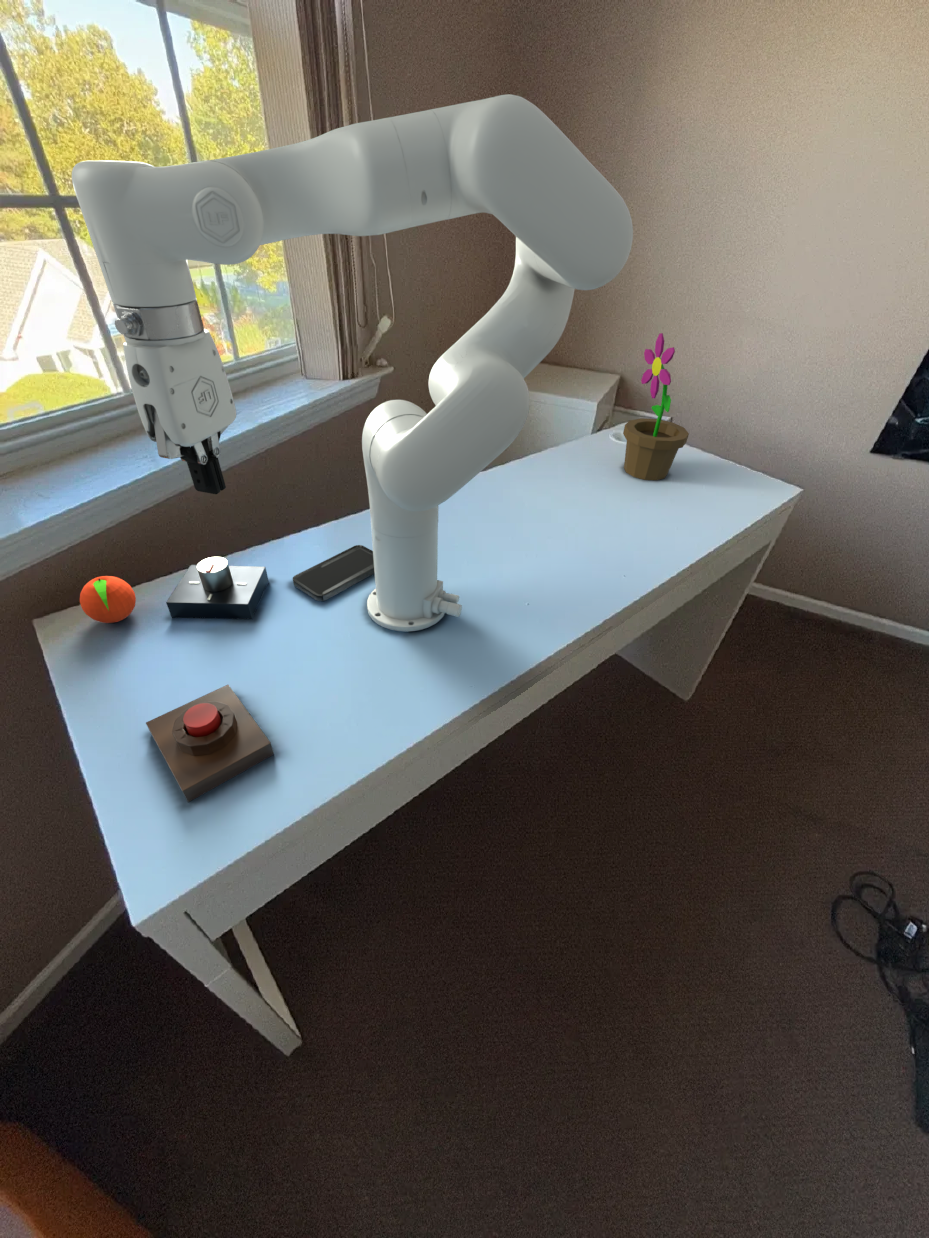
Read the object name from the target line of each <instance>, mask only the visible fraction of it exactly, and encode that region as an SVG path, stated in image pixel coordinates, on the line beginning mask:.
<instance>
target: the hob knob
mask: <svg viewBox="0 0 929 1238" xmlns="http://www.w3.org/2000/svg"><path fill="white" fill-rule="evenodd" d="M196 565H197V570H198V573H199V576H200V579H201V583H202V586H203V588H204V589H205V590H207V591H211V592H217V591H222V590H225V589H227V588H228V587H230V586H231V585H232V583H233V579H232V576H231V572H230V568H229V566H230V564H229V562H228V560H227V559H226V558H225V557H222V556H211V557H207V558H204V559H202V560H201V561H199V562H198V563H197V564H196Z"/></svg>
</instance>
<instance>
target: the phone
mask: <svg viewBox="0 0 929 1238" xmlns="http://www.w3.org/2000/svg"><path fill="white" fill-rule="evenodd" d="M372 575H375V572H374V559H373V549H370V548H368V547H366V546H364V545H362V544H356V545H353V546H352V547H349V548H347V549H346V550H344V551H341V552H339V553H337V554H335V555H333V556H331V557H329V558H327V559H324V560H323V561H321V562H319V563H317V564H315V565H313V566H311V567H309V568H307V569H305V570H303V571H301V572H299V573H297V574H295V575H293V577H292V583H293V586H294V587H295V588H296V589H298V590H300V591H301V592H303V593H304V594H305V595H307V596H308V597H311V598H312V599H313V600H315V601H317V602H325V601H327V600H329V599H331V598H332V597H334V596H336V595H338V594H340V593H342V592H344V591H345V590H347V589H349V588H350V587H353V586H354V585H356V584H358V583H361V582H362V581H364V580H365V579H367V578H369V577H370V576H372Z"/></svg>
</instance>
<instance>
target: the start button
mask: <svg viewBox="0 0 929 1238" xmlns="http://www.w3.org/2000/svg"><path fill="white" fill-rule="evenodd" d="M183 721H184V724H185V726H186V728H187V731H188V733H189V734H190V735H192V736H194V737H204V736H207V735H209V734H211V733H213V732H215V731H216V730H217V729H218V728H219V726H220V723H221V719H220V716H219V713H218V711H217V708H216V707H215V706H214V705H212V704H209V703H202V704H198V705H195V706H193V707H191V708H190V709H189V710H188V711H187V712H186V713H185V715H184V717H183Z"/></svg>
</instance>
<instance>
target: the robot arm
mask: <svg viewBox="0 0 929 1238" xmlns="http://www.w3.org/2000/svg"><path fill="white" fill-rule="evenodd" d="M71 183H72V187H73V190H74V194H75V196H76V199H77V202H78V206H79V208H80V211H81V214H82V217H83V220H84V222H85V225H86V229H87V231H88V235H89V237H90V241H91V244H92V246H93V249H94V252H95V255H96V258H97V261H98V264H99V267H100V270H101V273H102V276H103V279H104V282H105V284H106V288H107V291H108V294H109V297H110V300H111V302H112V305H113V308H114V311H115V315H116V319H115V320H114V326H115V329H116V330H117V332H118V333H120V334H121V335H123V337H124V341H125V342H123V343H122V346H123V347H122V348H123V351H124V352H123V354H124V359H125V365H126V370H127V371H126V372H127V376H128V379H129V384H130V388H131V391H132V395H133V399H134V402H135V405H136V409H137V413H138V416H139V419H140V421H141V423H142V426H143V429H144V431H145V434H146V435H147V437H148V439H150V441H152V442H154V443H156V449H157V454H158V455H157V456H159V458H162V459H168V460H175V459H178V458H180V461H182V462H185V463H186V464H187V468H188V471H189V474H190V477H191V480H192V484H193V487H194V489H195V491H197V492H200V493H204V494H205V493H206V494H210V495H211V494H212V495H218V494H220V493H221V491H224V490H225V489H226V488H227V486H226V482H225V479H224V475H223V472H222V468H221V464H220V461H219V456H220V454H221V447H220V440H221V436H222V434H223V433H224V432H225V431H226V430H227V429H228V428H229V426H231V425H232V424H233V423H234V421H235V420H236V418H237V409H236V403H235V400H234V396H233V392H232V390H231V385H230V381H229V379H228V376H227V373H226V369H225V366H224V364H223V361H222V358H221V356H220V352H219V350H218V348H217V345H216V343H215V341H214V338H213V336H212V335H211V332H210V331H209V330H208V329H206V328H205V326H204V323H203V318H202V315H201V311H200V307H199V302H198V299H197V295H196V291H195V287H194V283H193V279H192V274H191V271H190V266H189V262H188V261H195V262H202V263H208V264H216V265H222V266H223V265H224V266H225V265H227V266H230V265H237V264H241V263H243V262H246V261H248V260H249V259H251V258H252V257H253V256H254V255H255V254H256V252H257V251H258V250H259V247H260V246H263V245H269V244H273V243H277V242H283V241H286V240H291V239H297V238H302V237H308V236H317V235H343V236H344V235H345V236H352V237H354V236H355V237H367V236H369V237H370V236H381V235H385V234H389V233H394V232H397V231H402V230H406V229H411V228H413V227H414V228H415V227H420V226H424V225H429V224H433V223H437V222H441V221H448V220H451V219H457V218H461V217H465V216H470V215H476V214H481V213H485V214H489V215H493V216H494V217H495V218H496V219H497V220H498V221H499V222H501V224H502V225H503V226H504V227H506V228H507V229H508V231H509V232H511V233H512V234H513V235H514V236H515V259H514V267H513V272H512V275H511V278H510V280H509V283H508V285H507V288H506V290H505V291H504V292H503V294H502V295H501V297H500V298H499V299H498V300H497V301H496V302H495V303H494V305H493V306H491V308H490V309H489V310H488V311H487V312H486V313H485V314H484V315H483V316H482V317H481V318H480V319H479V320H478V321H476V323H475V324H474V325H473V326H471V327H470V328H469V329H468V330H467V331H466V332H465V333H464V334H463V335H462V336H461V337H459V339H458V340H456V342H454V343H453V344H452V345H451V346H450V347H449V348H448V349H447V350H446V351H444V353H442V354H441V355H440V356H439V358H438V359H437V360H436V362H434V364H433V366H432V367H431V370H430V372H429V376H428V382H427V383H428V390H429V391H428V392H429V395H430V398H431V400H432V402H433V404H434V405H435V406H434V407H433V408H432V409H431V410H429V412H428V413H427V412H426V411H425V410H424V409H423V408H421V407H420V406H418V405H417V404H415V403H413V402H411V401H408V400H405V399H390V400H386V401H384V402H382V403H380V404H379V405H377V406H376V407H375V408H374V409H373V410H372V411H371V412H370V414H369V415H368V416H367V418H366V420H365V423H364V425H363V429H362V435H361V449H362V457H363V465H364V470H365V478H366V484H367V492H368V493H367V495H368V503H369V514H370V530H371V531H370V532H371V545H372V551H373V559H374V572H375V573H374V582H375V583H374V585H375V588H374V589H373V590H372V591H371V592H370V593H369V595H368V597H367V601H366V609H367V613H368V615H369V618H370V619H371V620H372V621H373V622H374V623H376V624H377V625H378V626H381V627H383V628H385V629H388V630H391V631H396V632H416V631H422V630H424V629H427V628H431V627H432V626H434V625H436V624H437V623H438V622H440V621H441V620H442V619H443V618H444V616H445V614H447V615H448V616H453V617H457V618H459V617H460V616H461V615H462V609H463V605H462V604H460V603H459V602H460V595H458V594H454V593H449V592H446V590H444V581H443V580H439V579H438V556H439V555H438V553H439V552H438V549H439V548H438V546H439V545H438V543H439V506H440V505H441V504H443V503H444V502H446V501H448V500H449V499H450V498H452V497H453V496H454V495H456V493H458V492H459V491H460V490H461V489H462V488H464V487H465V486H466V485H467V484H468V483H469V482H471V481H472V480H473V479H474V478H475V477H476V476H477V475H478V474H480V473H481V472H483V470H484V469H485V468H486V467H488V466H489V465H490V464H491V463H493V461H495V460H496V459H497V458H498V457H499V456H500V455H501V454H502V453H504V452H505V451H506V449H508V448H509V447H510V446H511V444H512V443H514V442H515V440H516V439H517V437H518V436H519V435H520V433H521V432H522V430H523V428H524V426H525V424H526V422H527V420H528V416H529V413H530V407H531V396H530V391H529V387H528V384H527V382H526V381H525V378H526V377H527V376H528V375H529V374H530V373H531V372H532V371H533V370H534V369H535V368H536V367H537V366H538V365H539V364H540V363H541V362H542V361H543V360H544V359H545V358H546V357H547V356H548V355H549V354H550V353H551V351H552V350H553V349H554V347H555V346H556V344H557V343H558V342H559V341H560V339H561V338H562V335H563V333H564V331H565V329H566V326H567V323H568V320H569V317H570V313H571V309H572V305H573V300H574V296H575V290H579V291H590V290H591V291H593V290H597V289H599V288H602V287H604V286H605V285H607V284H608V283H610V282H612V281H613V280H614V279H615V278H616V277H617V276H618V275H619V274H620V272H621V271H622V270H623V269H624V267H625V265H626V263H627V262H628V259H629V256H630V253H631V252H632V246H633V240H634V227H633V226H634V224H633V219H632V216H631V213H630V209H629V207H628V205H627V204H626V202H625V199H624V197H622V196H621V194H620V193H619V191H618V190H616V188H615V187H614V186H613V185H612V184H611V183H610V181H608V179H607V178H606V177H605V176H604V175H603V174H602V173H601V172H600V171H599V170H598V169H597V168H596V167H595V166H594V165H593V164H592V163H591V161H590V160H588V158H587V157H586V156H585V155H584V154H583V152H582V151H580V149H579V148H578V147H577V146H576V145H575V144H574V143H573V142H572V141H571V140H570V138H568V137H567V136H566V134H565V133H563V131H562V130H561V129H560V127H558V125H556V124H555V123H554V122H553V121H552V120H551V118H549V117H548V116H547V115H546V113H544V112H543V110H541V109H540V108H539V107H538V106H536V104H534V103H533V102H531V101H529V100H528V99H526V98H524V97H522V96H520V95H515V94H511V93H510V94H509V93H507V94H500V95H495V96H491V97H486V98H482V99H477V100H472V101H467V102H461V103H457V104H452V105H446V106H441V107H436V108H432V109H431V108H430V109H426V110H422V111H416V112H415V111H414V112H411V113H405V114H401V115H396V116H389V117H383V118H379V119H373V120H368V121H361V122H356V123H351V124H349V125H345V126H342V127H338V128H337V127H336V128H334V129H331V130H330V131H326V132H324V133H323V134H320V135H317V136H316V137H313V138H310V139H307V140H304V141H299V142H296V143H291V144H287V145H283V146H279V147H273V148H268V149H263V150H258V151H253V152H248V153H243V154H237V155H232V156H227V157H221V158H215V159H205V160H199V161H195V162H188V163H183V164H182V163H181V164H176V165H166V166H154V165H152V164H149V163H146V162H143V161H129V160H105V159H104V160H102V159H101V160H83V161H80V162H77V163H76V164H75V165H74V166H73V167H72V170H71Z"/></svg>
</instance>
